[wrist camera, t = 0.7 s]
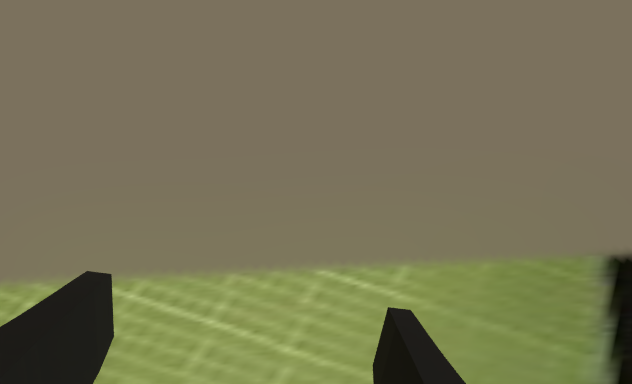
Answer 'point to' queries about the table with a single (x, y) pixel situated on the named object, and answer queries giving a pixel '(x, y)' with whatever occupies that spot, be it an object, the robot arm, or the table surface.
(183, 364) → the table surface
